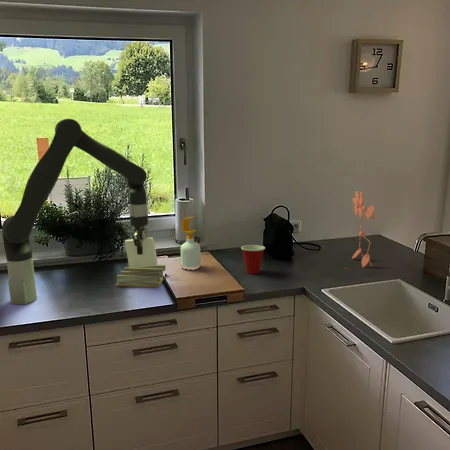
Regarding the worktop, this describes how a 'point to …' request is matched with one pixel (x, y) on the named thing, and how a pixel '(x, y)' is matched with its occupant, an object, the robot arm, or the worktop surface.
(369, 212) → the figurine
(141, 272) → the dish rack
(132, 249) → the pale green flat slab
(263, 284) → the worktop surface
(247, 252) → the plastic cup
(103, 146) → the robot arm
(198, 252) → the soap bottle
